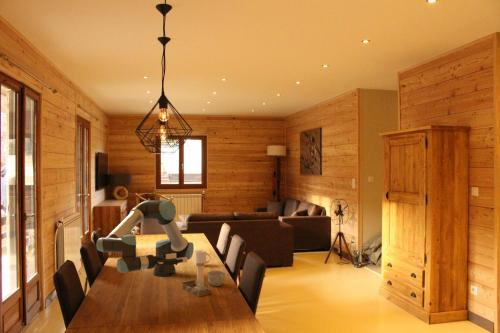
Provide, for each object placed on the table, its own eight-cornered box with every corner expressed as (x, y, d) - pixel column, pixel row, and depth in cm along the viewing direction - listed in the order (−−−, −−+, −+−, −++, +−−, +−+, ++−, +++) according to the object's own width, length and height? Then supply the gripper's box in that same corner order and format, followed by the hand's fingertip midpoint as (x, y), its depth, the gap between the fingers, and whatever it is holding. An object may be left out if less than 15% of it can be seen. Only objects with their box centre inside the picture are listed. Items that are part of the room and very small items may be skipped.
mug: (210, 266, 311) (210, 252, 311) (194, 267, 310) (194, 252, 310) (210, 263, 320) (210, 249, 320) (194, 264, 319) (194, 250, 319)
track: (182, 288, 255) (182, 281, 255) (193, 286, 260) (193, 279, 260) (198, 296, 239) (198, 289, 239) (210, 293, 244) (210, 286, 244)
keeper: (194, 290, 246) (194, 263, 246) (201, 288, 249) (201, 262, 249) (199, 292, 241) (199, 265, 241) (206, 291, 244) (206, 263, 244)
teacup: (206, 283, 266) (206, 270, 266) (222, 281, 269) (222, 269, 269) (212, 289, 252) (211, 276, 252) (229, 287, 256) (229, 274, 256)
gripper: (137, 265, 240) (171, 260, 253) (155, 273, 220) (191, 267, 233) (137, 251, 241) (171, 247, 253) (155, 259, 220) (191, 254, 233)
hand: (181, 257), depth 243 cm, fingers open, 13 cm apart
